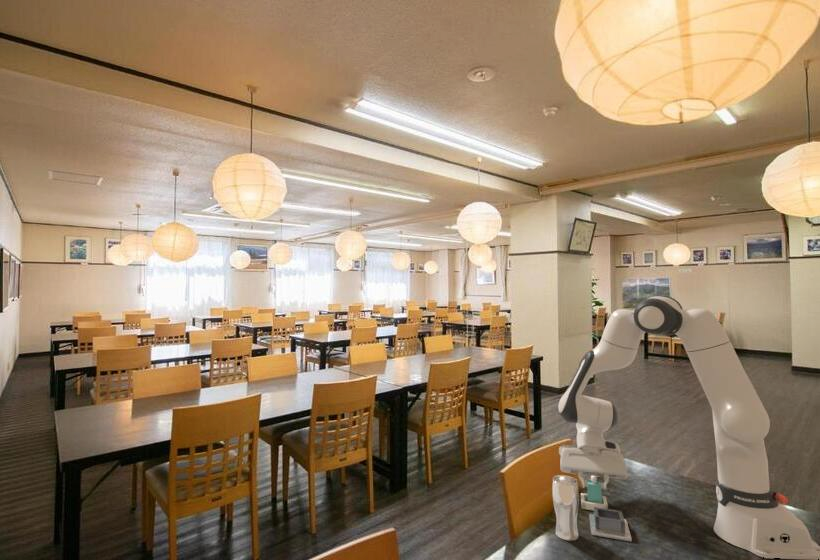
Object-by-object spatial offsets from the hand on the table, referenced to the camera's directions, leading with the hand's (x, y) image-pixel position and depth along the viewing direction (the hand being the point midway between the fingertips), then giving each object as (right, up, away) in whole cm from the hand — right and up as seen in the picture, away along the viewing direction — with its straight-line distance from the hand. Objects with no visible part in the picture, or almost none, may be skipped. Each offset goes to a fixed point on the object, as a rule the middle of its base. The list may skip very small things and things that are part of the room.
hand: (594, 488), depth 129 cm
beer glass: (-15, -5, -15) cm, 22 cm away
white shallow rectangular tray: (0, -6, 0) cm, 6 cm away
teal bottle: (0, -4, 0) cm, 4 cm away
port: (-1, -5, -13) cm, 14 cm away
